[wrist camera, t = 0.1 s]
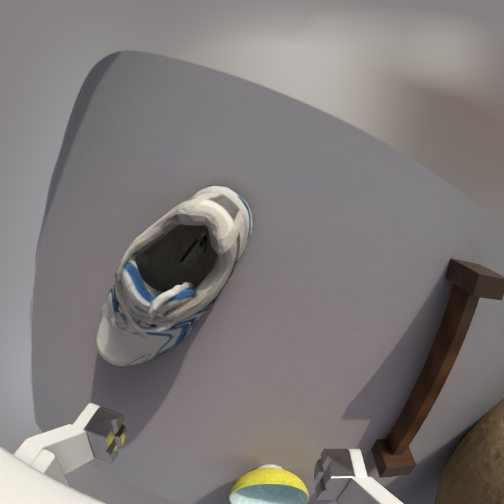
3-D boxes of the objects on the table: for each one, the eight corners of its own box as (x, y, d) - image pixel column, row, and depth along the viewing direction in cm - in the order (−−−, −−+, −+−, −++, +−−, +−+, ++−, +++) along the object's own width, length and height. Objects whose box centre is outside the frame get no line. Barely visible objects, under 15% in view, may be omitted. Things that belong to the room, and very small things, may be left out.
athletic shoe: (95, 327, 34) (65, 393, 23) (179, 157, 29) (164, 164, 18) (165, 361, 37) (158, 432, 26) (262, 206, 32) (294, 241, 21)
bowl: (297, 490, 40) (298, 518, 34) (229, 484, 40) (225, 512, 34) (315, 454, 37) (318, 485, 31) (237, 447, 38) (232, 478, 32)
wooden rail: (450, 258, 30) (479, 273, 24) (479, 264, 29) (508, 279, 24) (371, 449, 37) (379, 477, 31) (398, 447, 37) (408, 474, 31)
